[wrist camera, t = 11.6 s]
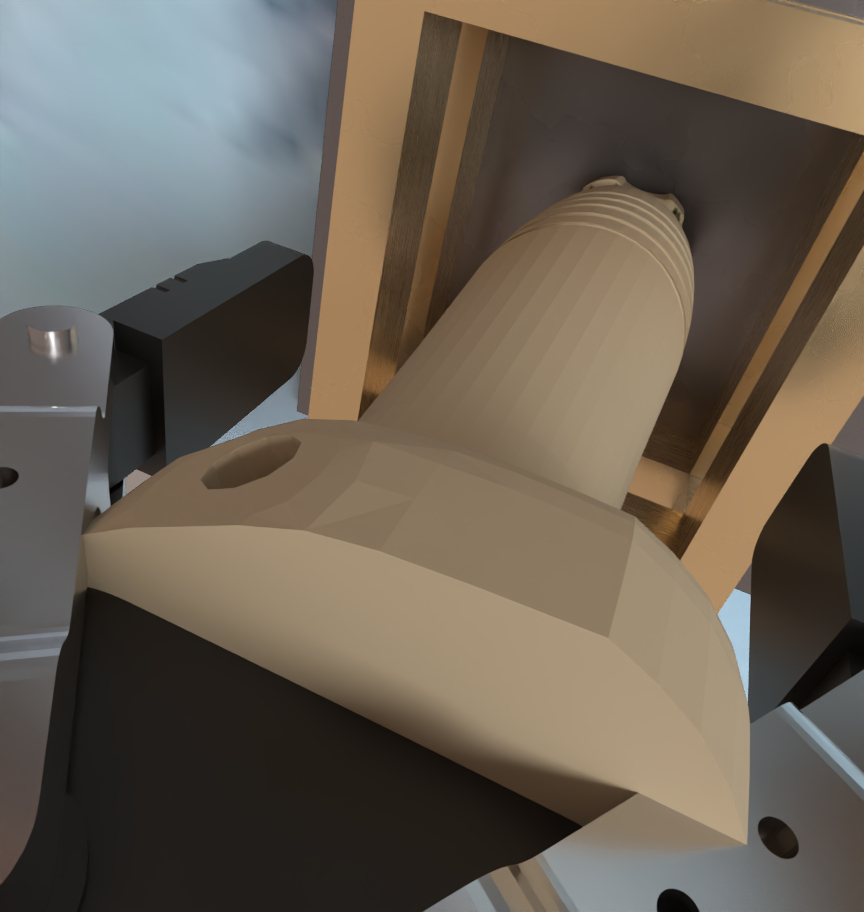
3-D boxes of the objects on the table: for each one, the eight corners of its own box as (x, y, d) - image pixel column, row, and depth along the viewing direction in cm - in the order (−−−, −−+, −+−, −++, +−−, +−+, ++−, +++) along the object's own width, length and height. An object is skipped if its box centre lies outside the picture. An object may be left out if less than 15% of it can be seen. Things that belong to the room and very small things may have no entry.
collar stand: (390, -298, 15) (190, -441, 10) (1280, -118, 12) (1670, -189, 7) (311, 397, 25) (195, 505, 20) (776, 583, 22) (780, 764, 17)
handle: (777, 315, 17) (780, 1051, 5) (520, 351, 20) (160, 874, 8) (759, 94, 15) (693, 513, 3) (474, 171, 18) (-90, 532, 6)
